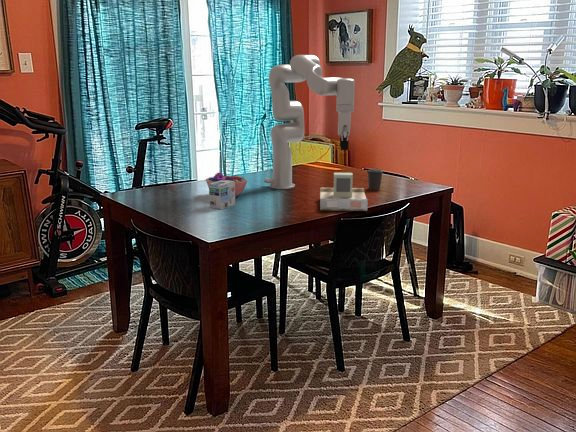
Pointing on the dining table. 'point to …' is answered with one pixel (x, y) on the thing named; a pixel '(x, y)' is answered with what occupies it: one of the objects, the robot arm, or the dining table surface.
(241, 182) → the cell model
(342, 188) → the product box
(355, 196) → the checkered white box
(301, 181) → the dining table surface
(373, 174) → the coffee cup
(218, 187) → the light bulb box
